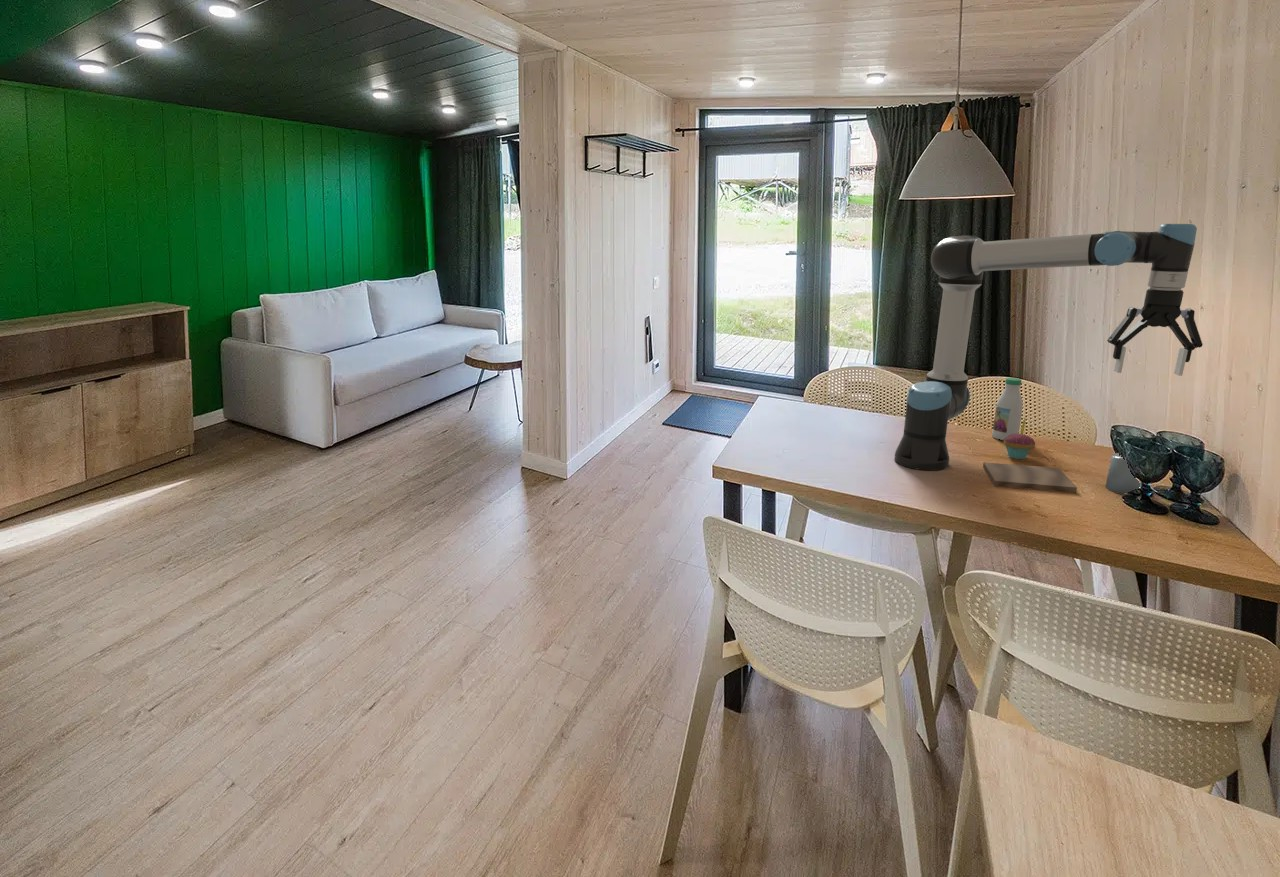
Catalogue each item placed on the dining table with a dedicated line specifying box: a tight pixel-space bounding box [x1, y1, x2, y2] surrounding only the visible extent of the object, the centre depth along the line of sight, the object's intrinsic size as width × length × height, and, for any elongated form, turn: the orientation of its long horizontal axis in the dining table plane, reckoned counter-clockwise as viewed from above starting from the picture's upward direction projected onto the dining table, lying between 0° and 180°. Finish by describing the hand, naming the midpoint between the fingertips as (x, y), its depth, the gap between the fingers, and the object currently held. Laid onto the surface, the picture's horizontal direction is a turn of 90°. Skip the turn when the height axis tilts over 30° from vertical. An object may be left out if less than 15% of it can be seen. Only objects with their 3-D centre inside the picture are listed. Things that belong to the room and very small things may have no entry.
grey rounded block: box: [1105, 452, 1140, 495], centre depth 192 cm, size 8×8×9 cm
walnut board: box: [982, 461, 1078, 494], centre depth 200 cm, size 20×16×2 cm
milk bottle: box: [991, 377, 1024, 441], centre depth 235 cm, size 8×8×20 cm
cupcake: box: [1002, 417, 1036, 460], centre depth 218 cm, size 9×8×12 cm
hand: (1147, 373), depth 184 cm, fingers open, 13 cm apart
